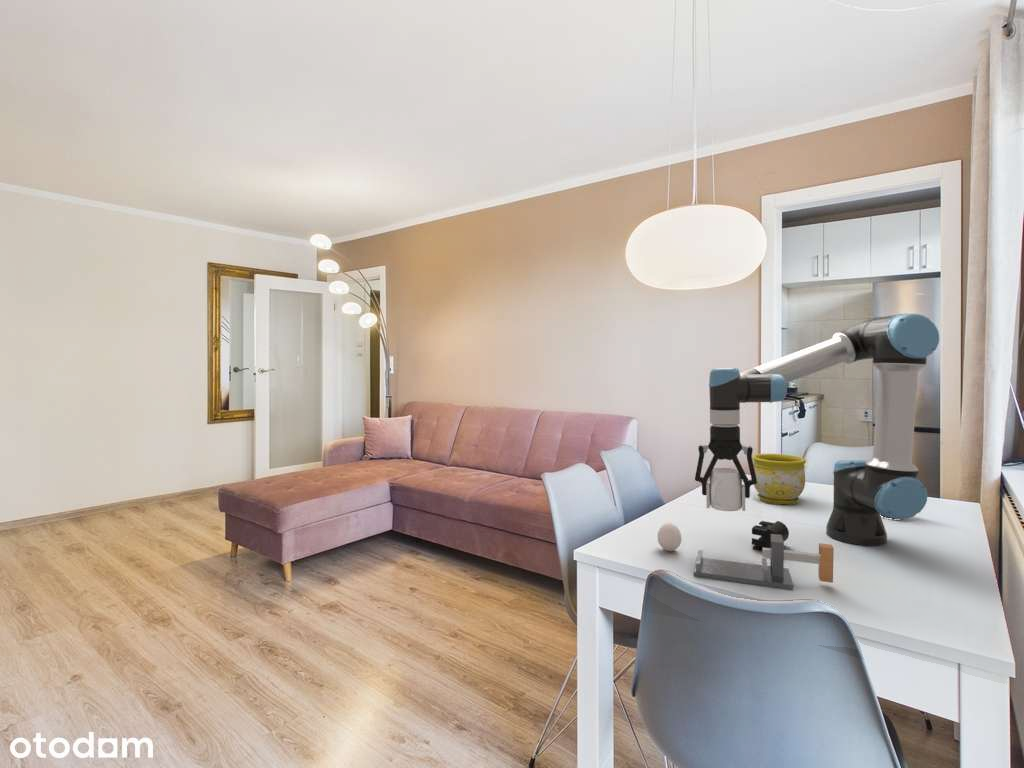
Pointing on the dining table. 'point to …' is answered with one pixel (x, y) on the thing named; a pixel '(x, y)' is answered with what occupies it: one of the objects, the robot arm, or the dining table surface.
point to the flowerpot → (779, 477)
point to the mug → (725, 489)
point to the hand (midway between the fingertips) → (725, 508)
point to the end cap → (768, 534)
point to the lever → (811, 559)
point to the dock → (748, 569)
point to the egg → (669, 536)
